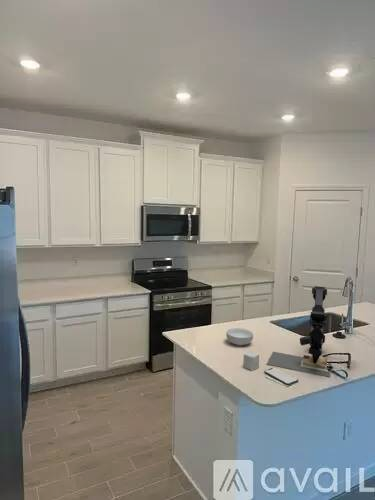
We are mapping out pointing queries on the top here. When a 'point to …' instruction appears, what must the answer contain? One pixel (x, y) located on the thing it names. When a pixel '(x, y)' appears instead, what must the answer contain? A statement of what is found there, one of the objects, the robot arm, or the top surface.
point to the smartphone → (281, 376)
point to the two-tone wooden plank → (319, 362)
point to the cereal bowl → (239, 336)
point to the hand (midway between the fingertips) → (314, 361)
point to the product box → (251, 360)
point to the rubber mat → (296, 364)
